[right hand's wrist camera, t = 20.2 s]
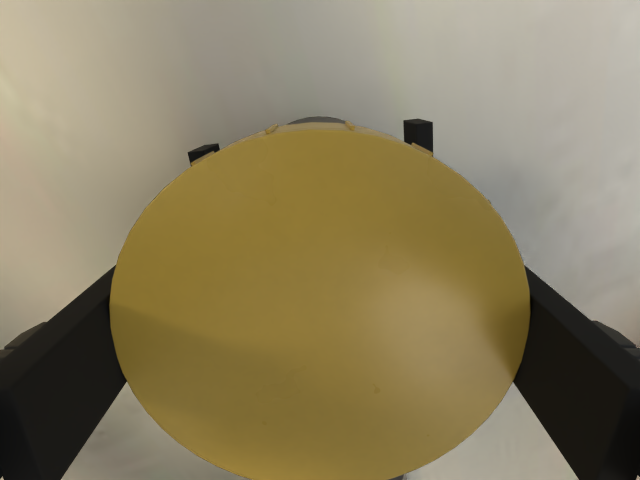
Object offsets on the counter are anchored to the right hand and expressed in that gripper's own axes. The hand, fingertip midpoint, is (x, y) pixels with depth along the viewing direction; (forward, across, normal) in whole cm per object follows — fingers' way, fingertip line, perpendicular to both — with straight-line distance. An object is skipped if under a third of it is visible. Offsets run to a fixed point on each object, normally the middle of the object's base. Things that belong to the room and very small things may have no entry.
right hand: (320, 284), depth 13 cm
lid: (-3, 0, 0) cm, 3 cm away
